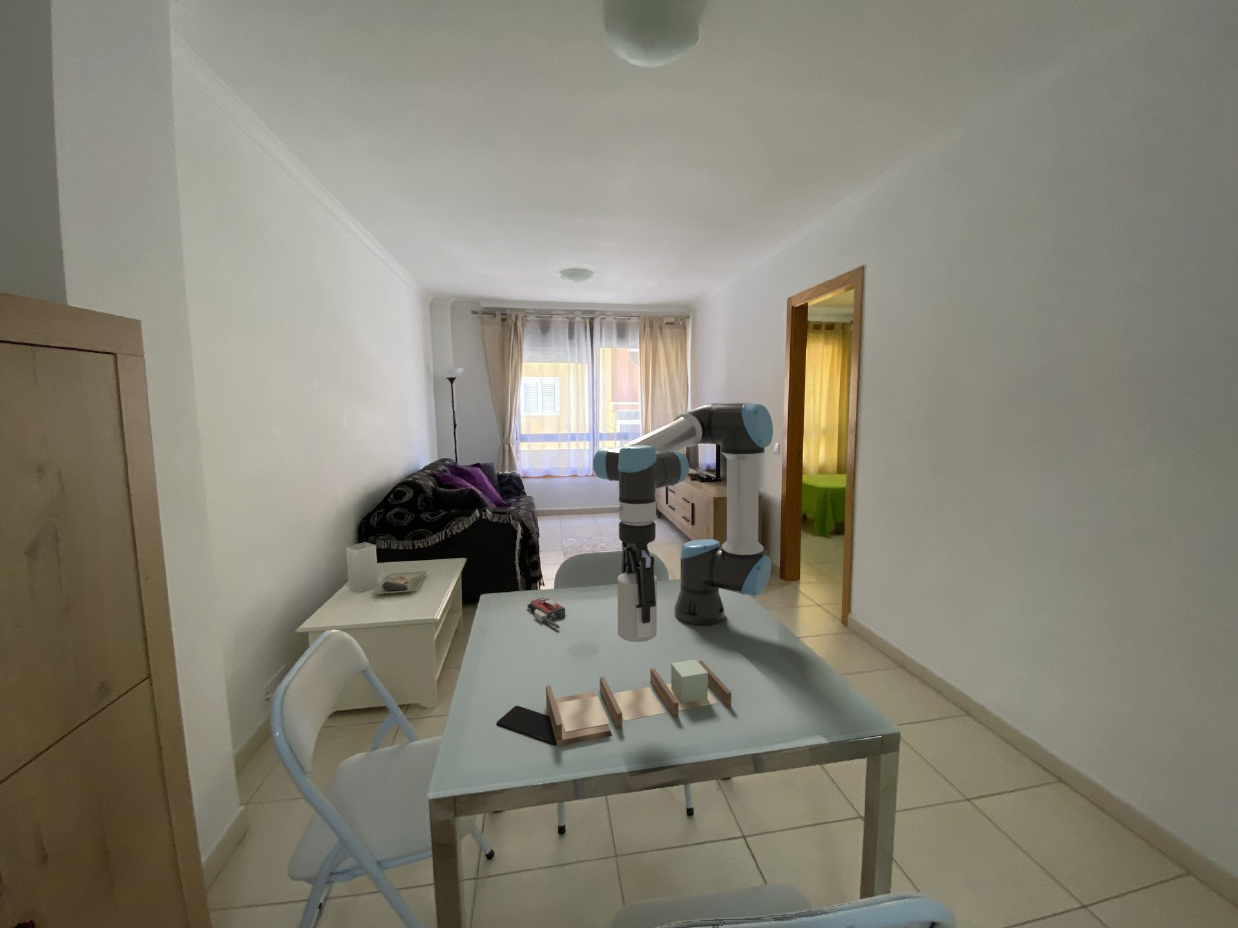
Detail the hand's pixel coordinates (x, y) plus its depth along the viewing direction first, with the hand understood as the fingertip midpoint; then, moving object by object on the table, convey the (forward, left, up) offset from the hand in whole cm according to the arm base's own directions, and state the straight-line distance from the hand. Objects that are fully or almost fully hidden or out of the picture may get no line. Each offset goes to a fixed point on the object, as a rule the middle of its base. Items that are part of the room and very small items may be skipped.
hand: (637, 627), depth 106 cm
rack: (0, 0, -18) cm, 18 cm away
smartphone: (+22, -1, -19) cm, 29 cm away
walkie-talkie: (+11, -53, -19) cm, 57 cm away
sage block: (-12, 0, -17) cm, 21 cm away
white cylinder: (0, 0, -1) cm, 1 cm away
